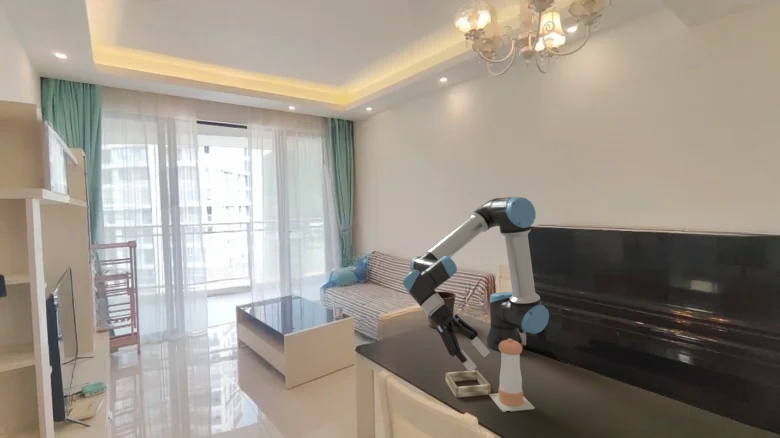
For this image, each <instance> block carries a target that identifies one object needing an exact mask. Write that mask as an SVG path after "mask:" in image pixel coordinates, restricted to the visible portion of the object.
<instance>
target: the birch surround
mask: <svg viewBox="0 0 780 438" xmlns="http://www.w3.org/2000/svg"><path fill="white" fill-rule="evenodd" d="M463 381H476V382H478V384H475V385H463V386H457V384H456V382H463ZM445 382H446V384H447V386H448V387H449V388H450V390H451V392H452V393H453V396H455V398H457V399H458V398H467V397H476V396H486V395H488V396H489V394H492V390H491V386H492V385H491V384H490V383H489V381H488V380H487V379H486V378H485V377H484V376H483V375H482V373H480V372H479V370H478V369H474V370H473V371H472V372H469V371H468V370H461V371H460V370H459V371H452V372H451V371H449V372H445Z"/></svg>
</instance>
